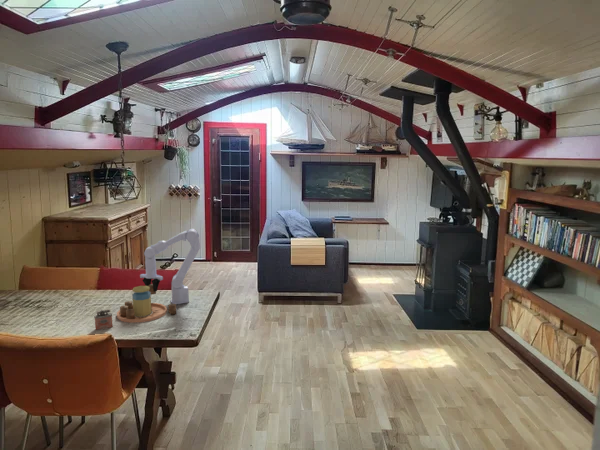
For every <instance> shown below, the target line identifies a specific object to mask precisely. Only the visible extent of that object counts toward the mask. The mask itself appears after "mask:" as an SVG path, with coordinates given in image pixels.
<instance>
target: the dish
mask: <svg viewBox="0 0 600 450" xmlns="http://www.w3.org/2000/svg"><path fill="white" fill-rule="evenodd" d="M167 307H168V306H167V305H164V304H163V303H157V302H151V310H152V312H151V313H150V315H146V316H135V319H127V318H126V317H121V316H120V309H119V310H118V311H117V312H116V316H117V317H116V319H117V320H119V321H121V322H125V323H130V324H131V323H134V324H135V323H145V322H146V323H147V322H151V321H155V320H159V319H160V318H162V317H163V316H165V315H166V314H167V313H168V308H167Z"/></svg>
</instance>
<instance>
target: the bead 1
mask: <svg viewBox="0 0 600 450" xmlns="http://www.w3.org/2000/svg"><path fill="white" fill-rule="evenodd" d="M148 286H149V287H150V289H149V292H151V296H152V295H156V294H157V291H156V292H154V290H153V284H152V283H151V284H150V285H148Z"/></svg>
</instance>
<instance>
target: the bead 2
mask: <svg viewBox="0 0 600 450" xmlns="http://www.w3.org/2000/svg"><path fill="white" fill-rule="evenodd" d="M167 307H168V314H170V315H171V316H175V315H177V304H172V303H170V304H168V306H167Z"/></svg>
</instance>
